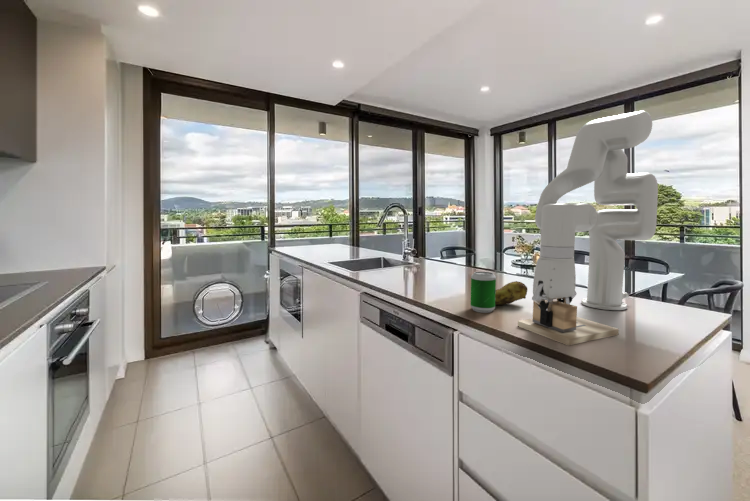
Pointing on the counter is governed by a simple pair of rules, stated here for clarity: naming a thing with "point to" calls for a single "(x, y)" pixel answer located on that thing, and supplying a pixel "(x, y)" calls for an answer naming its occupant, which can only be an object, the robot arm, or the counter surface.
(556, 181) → the robot arm
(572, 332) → the board
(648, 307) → the counter surface
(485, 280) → the soda can
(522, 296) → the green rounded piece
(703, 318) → the counter surface
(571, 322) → the block
